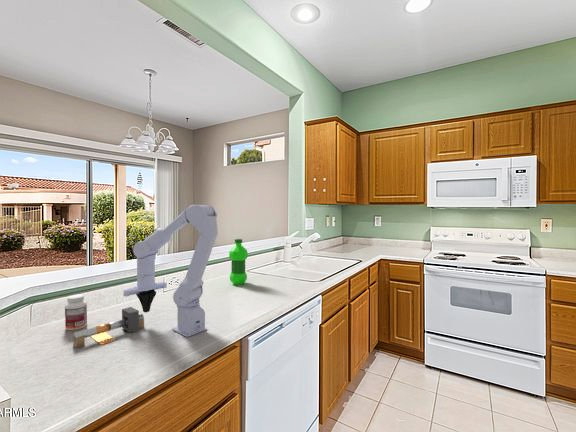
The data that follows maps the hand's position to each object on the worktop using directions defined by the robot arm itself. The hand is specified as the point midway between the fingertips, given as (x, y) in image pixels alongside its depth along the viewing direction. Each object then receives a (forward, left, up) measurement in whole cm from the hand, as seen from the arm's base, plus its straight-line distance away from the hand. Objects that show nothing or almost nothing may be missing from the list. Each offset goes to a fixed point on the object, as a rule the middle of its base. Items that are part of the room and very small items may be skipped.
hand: (146, 311), depth 104 cm
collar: (0, +5, -5) cm, 7 cm away
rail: (0, +11, -5) cm, 13 cm away
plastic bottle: (+17, -60, -5) cm, 62 cm away
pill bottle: (+17, +16, -5) cm, 24 cm away
